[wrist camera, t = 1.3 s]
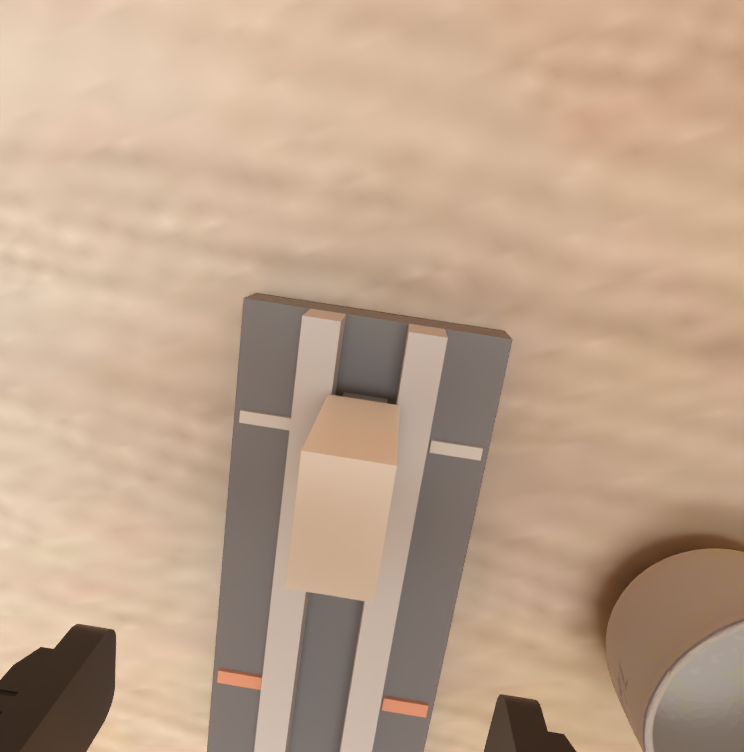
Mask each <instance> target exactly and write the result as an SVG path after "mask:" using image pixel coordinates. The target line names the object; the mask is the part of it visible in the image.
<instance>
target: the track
mask: <svg viewBox="0 0 744 752" xmlns="http://www.w3.org/2000/svg"><path fill="white" fill-rule="evenodd" d="M511 343H512V339H511V337H510V336H509V335H508V334H507V333H506V332H505V331H501V330H494V329H488V328H481V327H474V326H468V325H461V324H455V323H448V322H442V321H435V320H429V319H422V318H415V317H409V316H402V315H396V314H389V313H383V312H376V311H370V310H363V309H356V308H350V307H343V306H337V305H330V304H324V303H317V302H311V301H304V300H297V299H291V298H284V297H278V296H271V295H265V294H258V293H255V294H253V295H250V296H248V297H246V298H244V304H243V316H242V328H241V341H240V353H239V365H238V378H237V390H236V402H235V414H234V427H233V439H232V451H231V463H230V476H229V488H228V500H227V512H226V525H225V537H224V549H223V561H222V574H221V586H220V598H219V611H218V623H217V635H216V647H215V660H214V672H213V684H212V696H211V709H210V721H209V733H208V745H207V752H424V747H425V743H426V738H427V733H428V729H429V724H430V719H431V715H432V710H433V706H434V701H435V696H436V692H437V687H438V682H439V678H440V673H441V668H442V664H443V659H444V654H445V650H446V645H447V641H448V636H449V631H450V627H451V622H452V617H453V613H454V608H455V603H456V599H457V594H458V589H459V585H460V580H461V575H462V571H463V566H464V562H465V557H466V552H467V548H468V543H469V538H470V534H471V529H472V524H473V520H474V515H475V510H476V506H477V501H478V497H479V492H480V487H481V483H482V478H483V473H484V469H485V464H486V459H487V455H488V450H489V445H490V441H491V436H492V432H493V427H494V422H495V418H496V413H497V408H498V404H499V399H500V394H501V390H502V385H503V380H504V376H505V371H506V366H507V362H508V357H509V353H510V348H511ZM344 392H346V393H353V394H359V395H365V396H372V397H378V398H385V399H388V401H387V403H388V404H394V405H400V410H399V432H398V455H397V469H396V475H395V481H394V487H393V493H392V499H391V504H390V510H389V516H388V522H387V528H386V534H385V540H384V546H383V552H382V558H381V564H380V569H379V575H378V581H377V587H376V593H375V599H374V603H372V602H366V601H360V600H354V599H348V598H342V597H336V596H330V595H324V594H317V593H311V592H305V591H299V590H293V589H287V588H285V584H286V576H287V567H288V559H289V550H290V542H291V533H292V525H293V516H294V508H295V499H296V491H297V482H298V474H299V465H300V457H301V450H302V448H303V446H304V444H305V442H306V440H307V437H308V435H309V433H310V431H311V429H312V427H313V425H314V423H315V421H316V418H317V416H318V414H319V412H320V410H321V408H322V406H323V404H324V401H325V399H326V397H327V395H328V394H330V395H336V396H343V394H344Z"/></svg>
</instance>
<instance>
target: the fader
mask: <svg viewBox="0 0 744 752" xmlns="http://www.w3.org/2000/svg"><path fill="white" fill-rule="evenodd" d="M387 401H388V399H385V398H378V397H372V396H365V395H359V394H353V393H346V392H344V394H343V396H336V395H330V394H328V395H327V397H326V399H325V401H324V404H323V406H322V408H321V410H320V412H319V414H318V416H317V418H316V421H315V423H314V425H313V427H312V429H311V431H310V433H309V435H308V437H307V440H306V442H305V444H304V446H303V448H302V450H301V457H300V465H299V474H298V482H297V491H296V499H295V508H294V516H293V525H292V533H291V542H290V550H289V559H288V567H287V576H286V584H285V588H287V589H293V590H299V591H305V592H311V593H317V594H324V595H330V596H336V597H342V598H348V599H354V600H360V601H366V602H372V603H374V599H375V593H376V587H377V581H378V575H379V569H380V564H381V558H382V552H383V546H384V540H385V534H386V528H387V522H388V516H389V510H390V504H391V499H392V493H393V487H394V481H395V475H396V469H397V455H398V432H399V410H400V405H394V404H388V403H387Z"/></svg>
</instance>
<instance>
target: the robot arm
mask: <svg viewBox="0 0 744 752" xmlns="http://www.w3.org/2000/svg"><path fill="white" fill-rule="evenodd" d="M115 659H116V634H115V631H114V630H112V629H106V628H100V627H94V626H88V625H82V624H76V625H74V626H73V627H72V628H71V629H70V630H69V631H68V633H67V634H66V635H65V636H64V637H63V639H62V640H61V641H60V642H59V643H58V645H57V646H56V647H55V648H54V649H50V648H44V647H40V648H39V649H37V650H36V651H34V652H33V653H31V654H30V655H28V656H27V657H25V658H24V659H22V660H21V661H19V662H18V663H16V664H14V665H13V666H12V667H11V669H10V670H9V671H8V672H7V673H6V674H5V675H4V676H3V678H2V679H1V680H0V752H86V751H87V749H88V748H89V746H90V744H91V743H92V741H93V739H94V738H95V736H96V734H97V733H98V731H99V729H100V728H101V726H102V724H103V723H104V721H105V719H106V717H107V714H108V712H109V709H110V707H111V703H112V700H113V696H114V690H115ZM484 752H576V751H575V749H574V748H573V746H572V745H571V744H570V742H569V741H568V739H567V738H566V737H565V735H564V734H559V733H553V732H548V731H547V727H546V724H545V720H544V717H543V713H542V710H541V707H540V704H539V702H538V701H537V700H533V699H527V698H521V697H515V696H508V695H502V694H501V695H499V697H498V699H497V702H496V706H495V710H494V714H493V718H492V722H491V726H490V729H489V733H488V737H487V741H486V745H485V749H484Z"/></svg>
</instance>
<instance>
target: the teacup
mask: <svg viewBox="0 0 744 752" xmlns="http://www.w3.org/2000/svg"><path fill="white" fill-rule="evenodd" d="M606 657H607V664H608V669H609V673H610V676H611V680H612V683H613V685H614V688H615V691H616V693H617V696H618V698H619V700H620V703H621V705H622V707H623V710H624V712H625V714H626V716H627V719H628V721H629V723H630V725H631V727H632V729H633V732H634V734H635V736H636V738H637V740H638V742H639V744H640V746H641V748H642V750H643V752H744V552H743V551H737V550H732V549H720V548H709V549H696V550H692V551H687V552H683V553H679V554H676V555H673V556H670V557H668V558H665V559H663V560H661V561H659V562H657V563H656V564H654V565H652V566H650V567H649V568H647V569H646V570H645V571H643V572H642V573H641V574H639V575H638V576H637V577H636V578H635V579H634V580H633V581H632V582H631V583H630V584H629V585H628V586H627V588H626V589H625V590H624V591H623V592H622V594H621V596H620V597H619V599H618V601H617V602H616V604H615V606H614V608H613V610H612V613H611V616H610V618H609V622H608V626H607V632H606Z"/></svg>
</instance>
